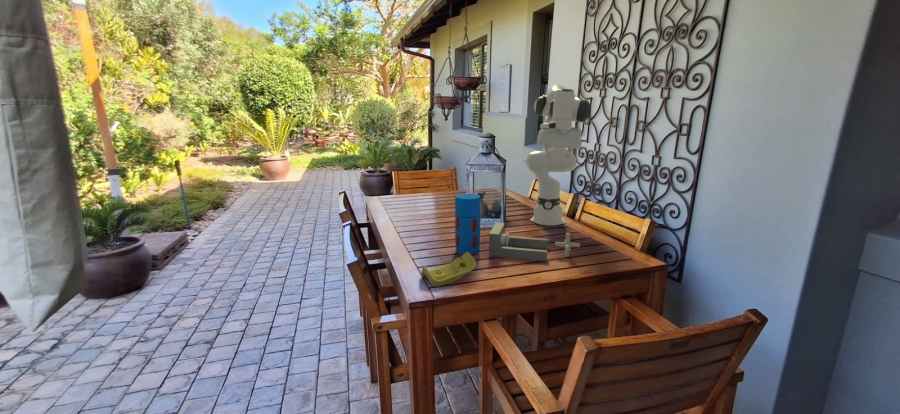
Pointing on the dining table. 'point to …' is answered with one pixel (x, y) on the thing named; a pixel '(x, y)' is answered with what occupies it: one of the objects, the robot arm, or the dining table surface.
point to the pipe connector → (567, 244)
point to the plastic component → (450, 270)
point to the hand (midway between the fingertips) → (557, 157)
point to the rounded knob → (505, 239)
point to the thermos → (467, 224)
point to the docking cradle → (518, 253)
